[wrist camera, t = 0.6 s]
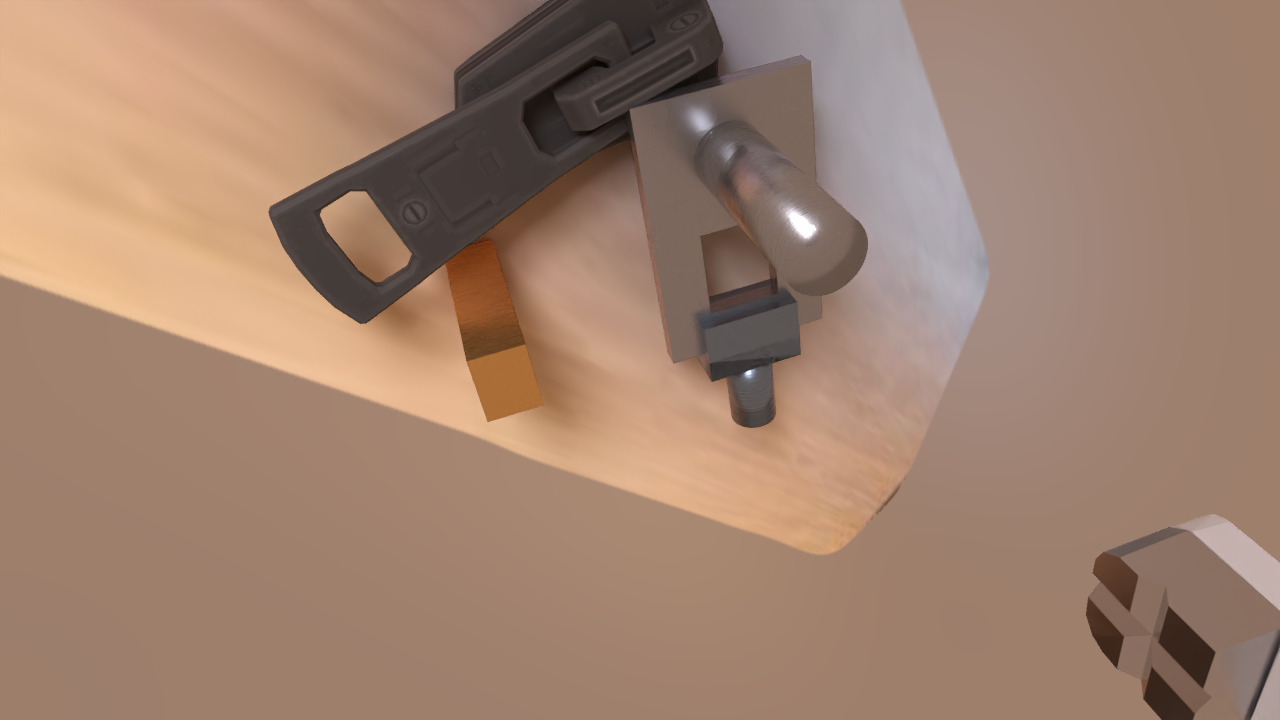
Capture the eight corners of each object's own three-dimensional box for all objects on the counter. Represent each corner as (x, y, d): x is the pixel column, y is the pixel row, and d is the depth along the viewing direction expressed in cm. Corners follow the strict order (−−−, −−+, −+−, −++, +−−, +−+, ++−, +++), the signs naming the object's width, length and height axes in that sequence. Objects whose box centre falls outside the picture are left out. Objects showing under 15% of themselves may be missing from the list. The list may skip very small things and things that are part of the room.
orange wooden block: (443, 252, 53) (466, 361, 44) (491, 239, 54) (525, 344, 44) (461, 307, 56) (487, 422, 46) (508, 294, 56) (543, 405, 47)
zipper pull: (246, 213, 42) (714, -48, 41) (251, 157, 47) (668, -77, 46) (357, 342, 47) (769, 114, 47) (352, 279, 52) (723, 73, 52)
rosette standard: (601, 75, 50) (708, 204, 36) (766, 32, 51) (932, 141, 37) (660, 388, 64) (754, 573, 49) (789, 348, 65) (917, 517, 51)
